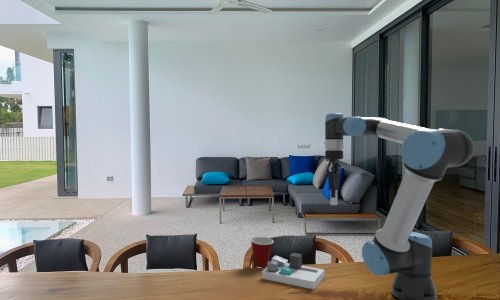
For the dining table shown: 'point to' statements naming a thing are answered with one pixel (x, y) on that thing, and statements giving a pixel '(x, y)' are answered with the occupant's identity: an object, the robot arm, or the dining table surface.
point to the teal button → (286, 271)
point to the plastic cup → (261, 250)
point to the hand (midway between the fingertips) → (333, 204)
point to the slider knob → (295, 260)
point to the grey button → (272, 266)
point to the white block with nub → (280, 260)
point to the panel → (296, 276)
